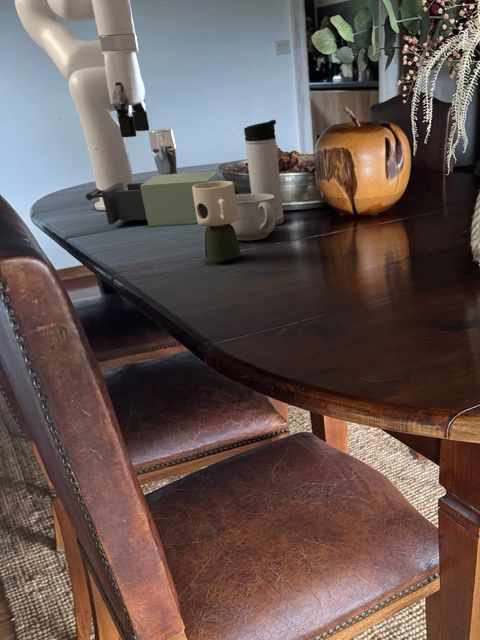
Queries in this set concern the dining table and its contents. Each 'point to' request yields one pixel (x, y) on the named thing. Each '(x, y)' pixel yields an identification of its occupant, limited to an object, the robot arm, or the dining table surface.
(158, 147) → the beer glass
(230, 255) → the character mug
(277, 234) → the dining table surface
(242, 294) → the dining table surface
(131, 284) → the dining table surface
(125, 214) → the drawer
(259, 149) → the travel mug
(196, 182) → the cabinet
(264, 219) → the teacup
